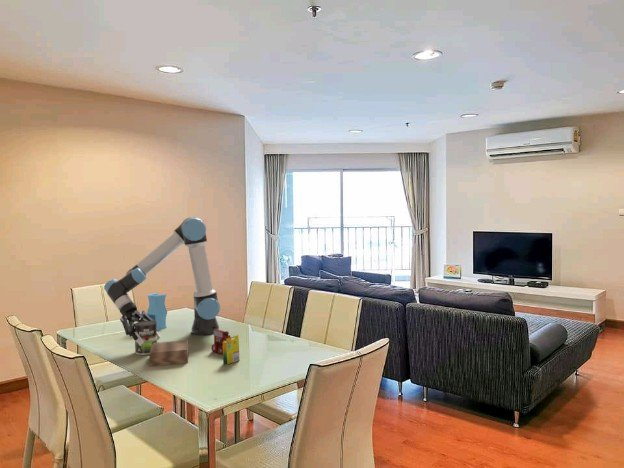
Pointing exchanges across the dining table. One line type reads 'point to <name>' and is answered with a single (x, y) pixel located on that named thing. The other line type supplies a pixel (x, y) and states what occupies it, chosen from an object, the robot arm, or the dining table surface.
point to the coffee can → (145, 336)
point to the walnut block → (169, 353)
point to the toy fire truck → (219, 340)
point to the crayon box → (231, 350)
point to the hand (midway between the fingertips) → (150, 341)
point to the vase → (157, 310)
